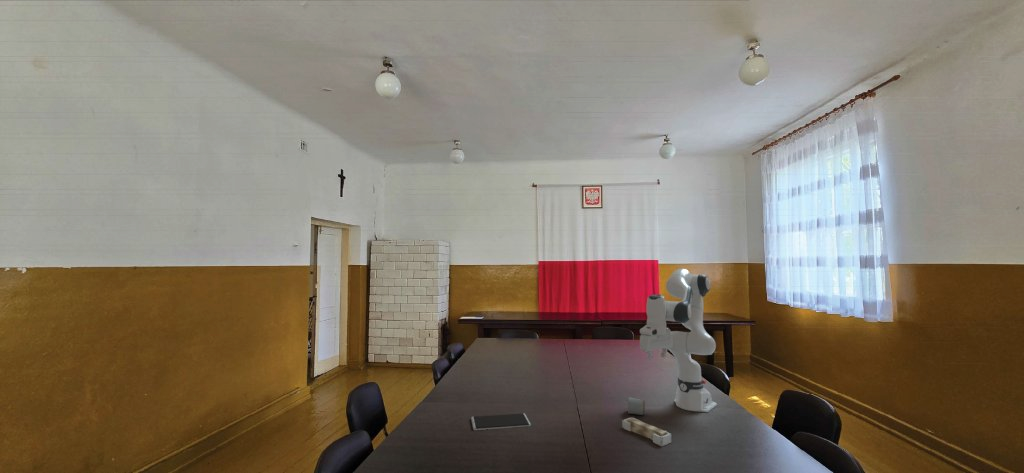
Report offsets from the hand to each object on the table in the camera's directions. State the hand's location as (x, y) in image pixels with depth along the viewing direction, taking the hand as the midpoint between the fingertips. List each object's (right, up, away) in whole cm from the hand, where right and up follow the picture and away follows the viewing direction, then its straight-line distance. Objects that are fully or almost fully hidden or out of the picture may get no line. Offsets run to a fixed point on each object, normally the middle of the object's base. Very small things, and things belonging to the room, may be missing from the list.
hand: (657, 358), depth 182 cm
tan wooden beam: (-9, -31, -12) cm, 34 cm away
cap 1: (-14, -31, -4) cm, 34 cm away
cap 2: (-4, -30, -19) cm, 36 cm away
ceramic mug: (-6, -32, +13) cm, 36 cm away
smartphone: (-75, -32, +1) cm, 81 cm away
